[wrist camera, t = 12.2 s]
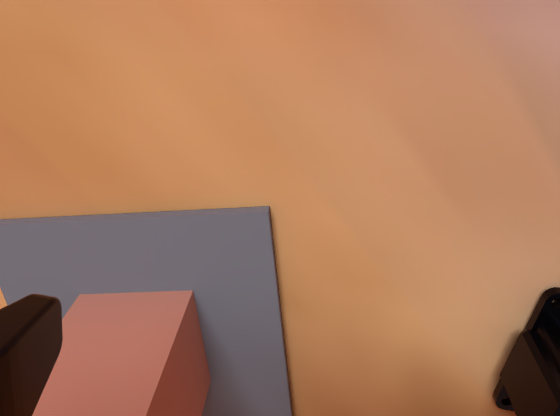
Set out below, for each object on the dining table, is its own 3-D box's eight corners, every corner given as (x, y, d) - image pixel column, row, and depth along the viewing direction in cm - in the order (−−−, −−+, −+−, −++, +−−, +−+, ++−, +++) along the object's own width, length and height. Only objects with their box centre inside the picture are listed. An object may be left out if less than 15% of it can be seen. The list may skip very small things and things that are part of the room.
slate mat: (269, 206, 21) (268, 211, 20) (293, 424, 26) (293, 432, 25) (-17, 220, 22) (-24, 226, 21) (62, 425, 27) (58, 433, 27)
